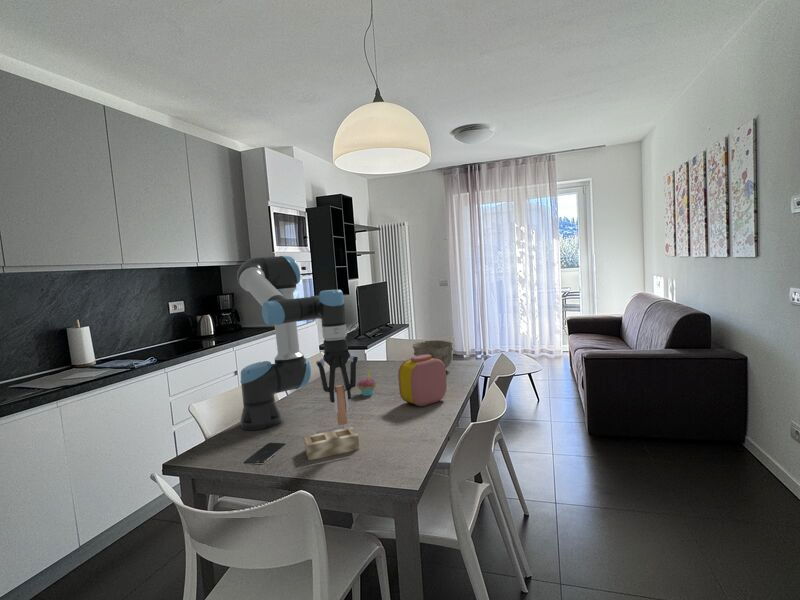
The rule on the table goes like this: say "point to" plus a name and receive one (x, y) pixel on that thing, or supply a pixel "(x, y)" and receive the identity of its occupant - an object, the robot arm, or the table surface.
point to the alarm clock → (422, 380)
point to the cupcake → (367, 386)
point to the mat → (330, 430)
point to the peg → (341, 405)
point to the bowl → (435, 350)
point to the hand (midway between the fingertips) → (341, 410)
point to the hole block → (331, 443)
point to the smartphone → (265, 453)
